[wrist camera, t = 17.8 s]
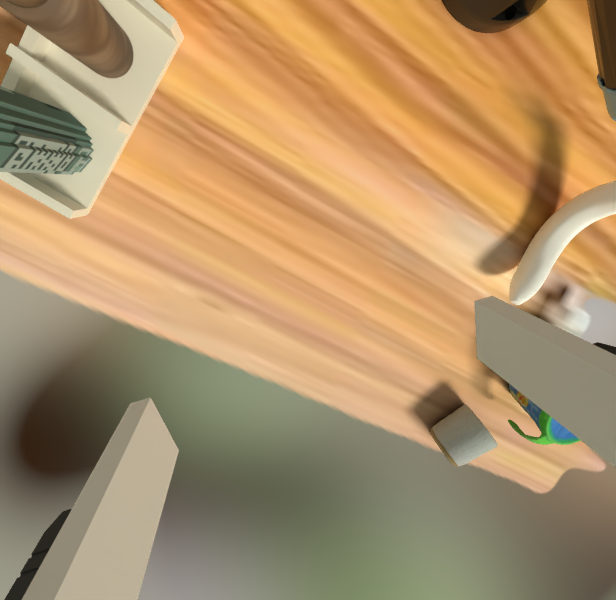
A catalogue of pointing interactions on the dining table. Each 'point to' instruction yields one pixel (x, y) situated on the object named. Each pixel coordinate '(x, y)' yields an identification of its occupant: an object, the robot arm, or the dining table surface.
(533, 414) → the snack cup
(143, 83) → the caddy
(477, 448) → the ceramic mug
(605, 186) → the white curved horn
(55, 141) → the can
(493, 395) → the dining table surface
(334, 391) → the dining table surface
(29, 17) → the pepper mill
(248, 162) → the dining table surface
